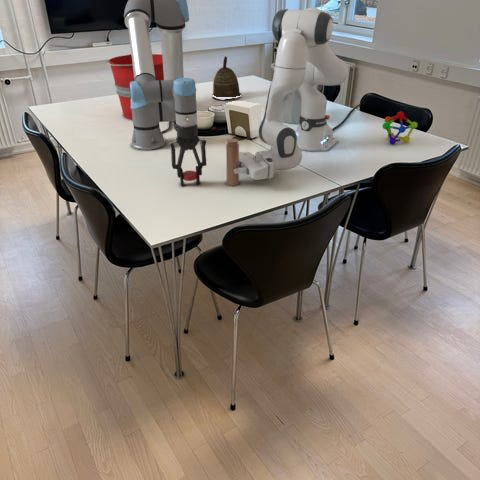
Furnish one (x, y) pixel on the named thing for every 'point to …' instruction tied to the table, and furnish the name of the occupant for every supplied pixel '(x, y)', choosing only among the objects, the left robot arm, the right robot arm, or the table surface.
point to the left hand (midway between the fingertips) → (190, 183)
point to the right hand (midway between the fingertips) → (230, 168)
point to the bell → (225, 82)
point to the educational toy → (398, 128)
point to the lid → (189, 175)
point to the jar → (232, 161)
